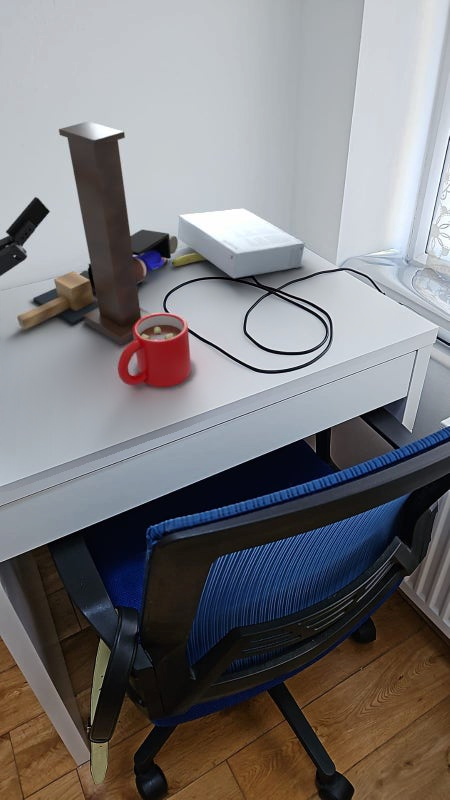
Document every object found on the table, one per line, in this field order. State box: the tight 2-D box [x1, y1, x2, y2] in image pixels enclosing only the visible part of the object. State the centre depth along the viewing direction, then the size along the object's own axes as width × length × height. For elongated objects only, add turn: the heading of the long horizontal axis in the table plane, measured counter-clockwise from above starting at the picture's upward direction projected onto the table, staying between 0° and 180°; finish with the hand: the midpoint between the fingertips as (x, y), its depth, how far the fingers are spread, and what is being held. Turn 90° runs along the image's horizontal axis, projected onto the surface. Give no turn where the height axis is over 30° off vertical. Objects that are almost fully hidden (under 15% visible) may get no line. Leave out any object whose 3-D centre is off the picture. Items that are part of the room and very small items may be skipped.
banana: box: [171, 252, 208, 267], centre depth 113 cm, size 8×2×4 cm
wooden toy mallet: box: [16, 271, 95, 330], centre depth 99 cm, size 13×5×4 cm, turn 137°
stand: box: [58, 121, 152, 346], centre depth 88 cm, size 8×10×31 cm
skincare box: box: [177, 208, 306, 279], centre depth 114 cm, size 21×6×16 cm
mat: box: [32, 287, 99, 326], centre depth 103 cm, size 12×7×1 cm, turn 47°
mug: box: [117, 312, 192, 388], centre depth 84 cm, size 8×12×8 cm, turn 138°
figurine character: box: [130, 229, 179, 283], centre depth 110 cm, size 7×8×15 cm
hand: (17, 192), depth 86 cm, fingers open, 13 cm apart
